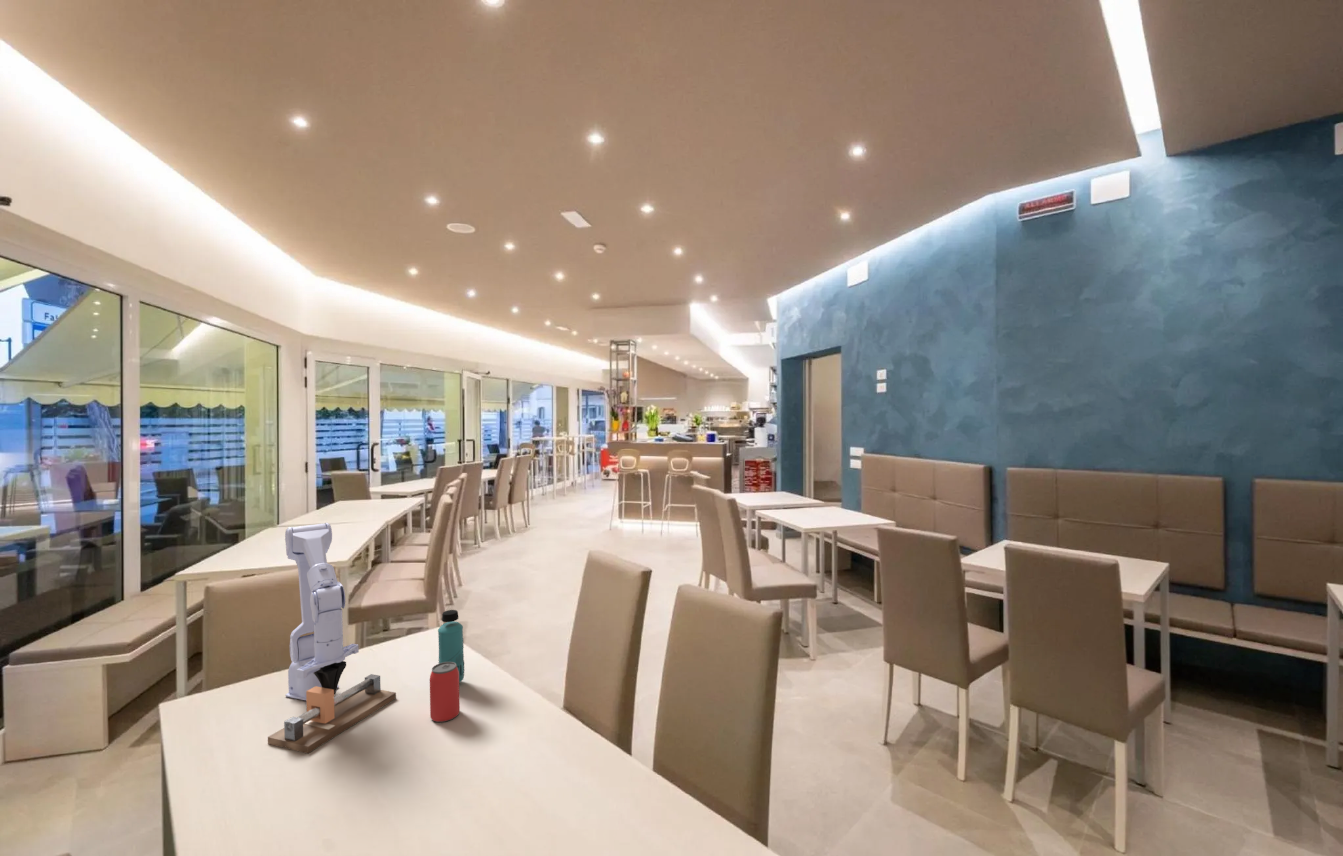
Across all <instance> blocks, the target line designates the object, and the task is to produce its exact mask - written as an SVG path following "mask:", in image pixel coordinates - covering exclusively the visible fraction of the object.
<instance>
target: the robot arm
mask: <svg viewBox="0 0 1343 856" xmlns="http://www.w3.org/2000/svg"><path fill="white" fill-rule="evenodd" d="M284 537H285V539H284V540H285V552H286V556H287V559H288V560H293V561H295V564H296V566H297V571H298V572H297V573H298V586H299V587H298V589H299V599H300V600H299V601H300V614H301V623H300V624H299V625H298V626H296V628H295V629H293V630H292V631H291V633H290V635H289V656H290V660H291V663H290V665H289V666H288V667H289V668H288V670H287V672H288V673H287V678H288V681H287V682H288V683H287V684H288V692H287V693H285V695H284V696H285V697H288V698H292V699H295V700H296V699H298V700H302V701H306V691H307V690H309V689H311V688H313V687H315V686H317V687H323V688H328V689H333V690H334V696H335V695H336V693H337V690H338V689H339V687H340V686H339V682H340V679H341V676H342V674H343V672H344V670H345V669H346V667H347V661H345V660H346V657H349V656H351V655H353V654H358V653H359V651H360V650H359V644H356V643H350V644H348V645H346V646H344V631H343V626H344V625H343V624H344V623H343V610H344V609H345V608H346V592H345V588H344V585H343V584H342V583H341V581H339V580H338V578H337V575H336V570H335V566H333V564H330V563H328V560H327V559H328V558H327V553H328V551H329V550H330V548H331V544H332V542H333V541H332V540H333V531H332V525H331V524H330V523H329V522H324V523H316V524H308V525H299V526H288V527H287V528H286V529H285V535H284ZM305 634H307V635H305Z"/></svg>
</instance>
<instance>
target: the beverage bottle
mask: <svg viewBox="0 0 1343 856" xmlns="http://www.w3.org/2000/svg"><path fill="white" fill-rule="evenodd" d="M458 620H459V611H458V610H456V609H449V610H445V611H443V612H442V615H441V621H442V622H443V624H441V626H440V627H439V628H438V629H437V632H438V633H437V634H438V635H437V639H438V662H437V664H439V663H443V662H454V663H456V664H457V668H458V671H459V683H460V682H462V681H463V680H464V677H465V676H466V675H465V669H466V668H465V659H464V657H465V656H464V644H465V643H464V634H463V633H464V631H463V630H464V625H463V624H461V622H459V621H458Z"/></svg>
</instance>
